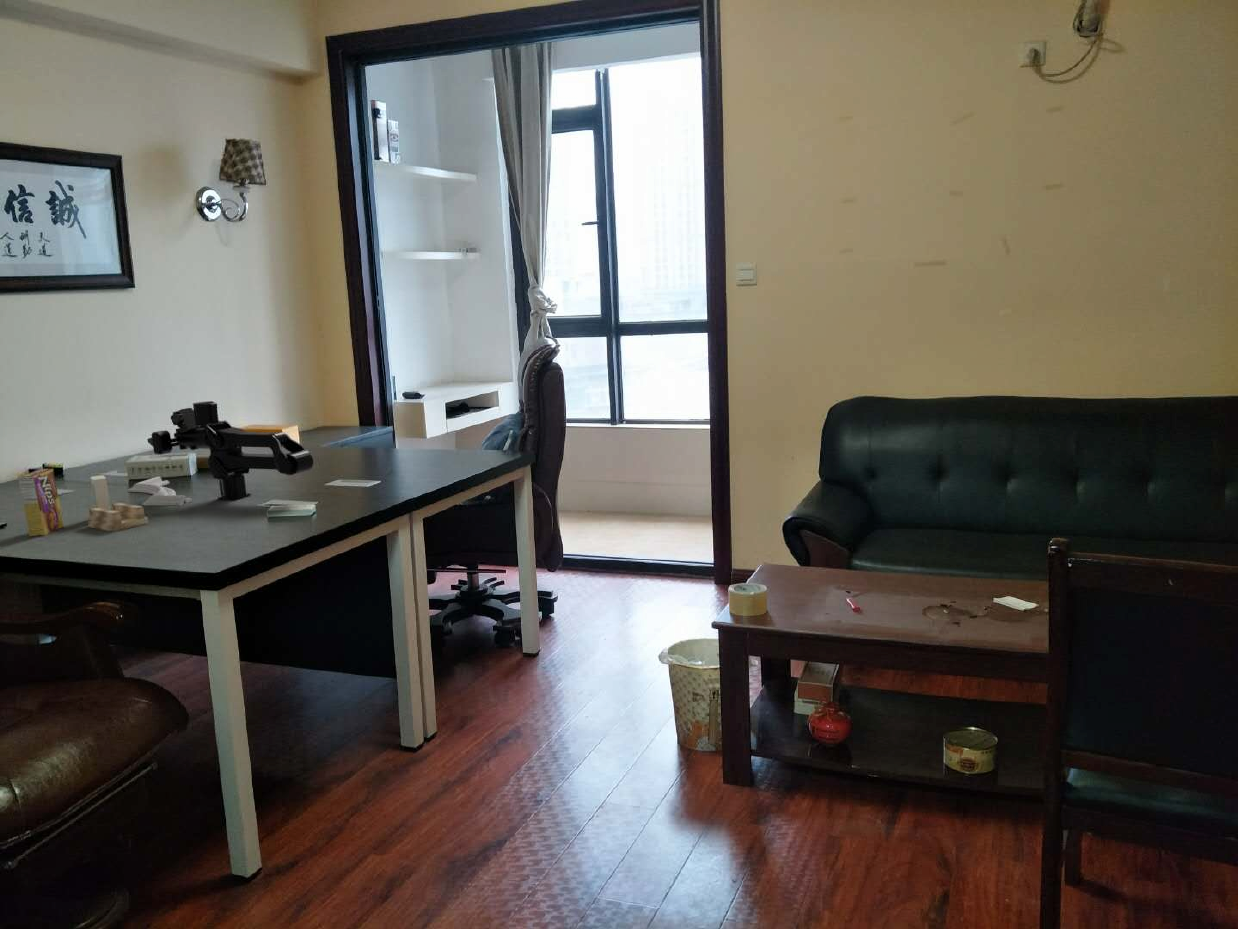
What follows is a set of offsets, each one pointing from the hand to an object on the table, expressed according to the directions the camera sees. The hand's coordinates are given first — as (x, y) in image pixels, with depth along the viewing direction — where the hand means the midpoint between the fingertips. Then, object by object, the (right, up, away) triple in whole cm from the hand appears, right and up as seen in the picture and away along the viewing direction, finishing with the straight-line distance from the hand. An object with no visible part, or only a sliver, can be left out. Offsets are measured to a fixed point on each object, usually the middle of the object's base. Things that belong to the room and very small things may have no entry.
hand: (161, 437), depth 290 cm
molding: (0, -17, +4) cm, 17 cm away
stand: (+5, -23, -34) cm, 42 cm away
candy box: (-12, -25, -37) cm, 46 cm away
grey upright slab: (-3, -22, -25) cm, 34 cm away
